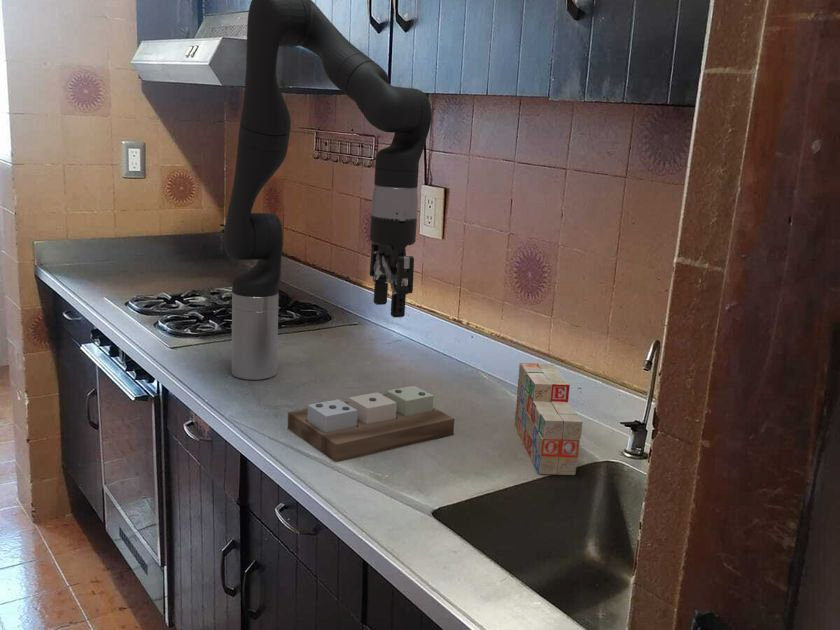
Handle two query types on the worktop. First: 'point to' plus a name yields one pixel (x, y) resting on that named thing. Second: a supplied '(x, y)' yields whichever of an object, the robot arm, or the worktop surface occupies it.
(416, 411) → the key
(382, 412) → the key
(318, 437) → the key panel
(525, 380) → the stack of blocks
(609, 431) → the worktop surface
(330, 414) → the key
